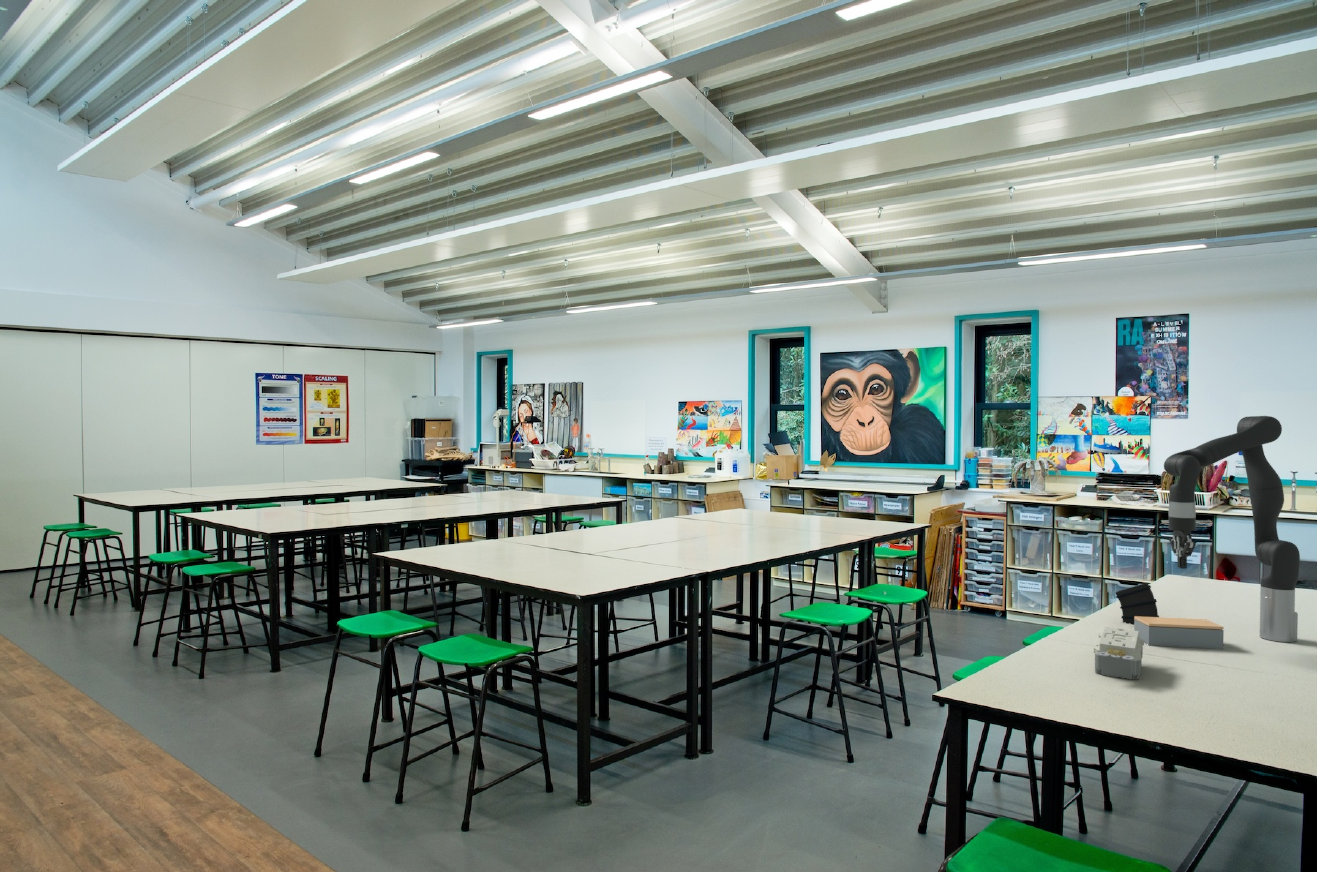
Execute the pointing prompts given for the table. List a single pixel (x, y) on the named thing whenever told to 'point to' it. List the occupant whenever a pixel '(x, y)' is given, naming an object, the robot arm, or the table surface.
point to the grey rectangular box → (1180, 636)
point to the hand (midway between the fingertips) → (1182, 568)
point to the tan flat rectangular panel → (1178, 622)
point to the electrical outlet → (1119, 653)
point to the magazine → (1137, 602)
